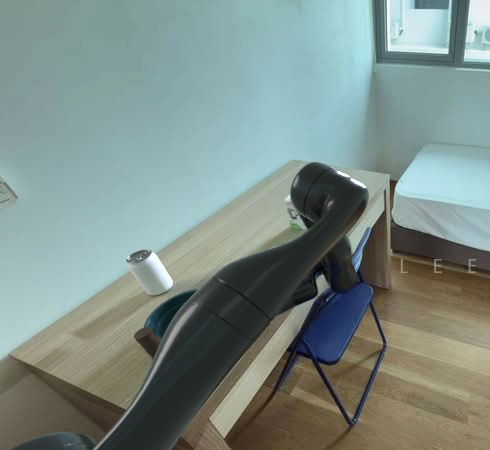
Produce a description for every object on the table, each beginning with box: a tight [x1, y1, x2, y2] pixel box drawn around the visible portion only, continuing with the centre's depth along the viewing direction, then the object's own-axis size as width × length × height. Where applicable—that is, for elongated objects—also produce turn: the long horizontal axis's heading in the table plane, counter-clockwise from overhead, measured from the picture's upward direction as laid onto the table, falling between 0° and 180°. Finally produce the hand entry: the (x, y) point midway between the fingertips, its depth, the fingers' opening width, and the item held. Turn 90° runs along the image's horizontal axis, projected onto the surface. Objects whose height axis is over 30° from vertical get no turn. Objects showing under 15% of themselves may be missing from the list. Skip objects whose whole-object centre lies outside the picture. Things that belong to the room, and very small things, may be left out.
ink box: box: [283, 193, 307, 231], centre depth 108 cm, size 9×5×12 cm, turn 78°
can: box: [126, 248, 174, 296], centre depth 85 cm, size 6×6×12 cm
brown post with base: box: [133, 327, 161, 360], centre depth 62 cm, size 5×5×15 cm
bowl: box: [142, 288, 200, 341], centre depth 75 cm, size 16×16×5 cm
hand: (188, 334), depth 63 cm, fingers open, 8 cm apart
